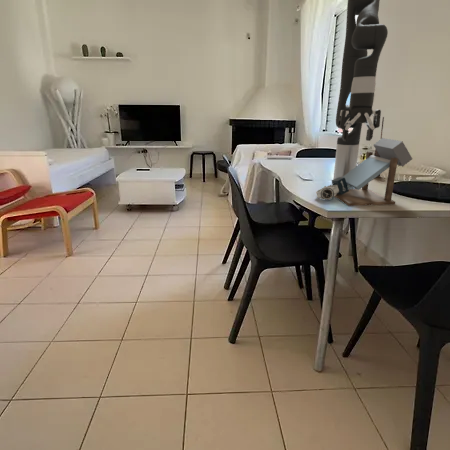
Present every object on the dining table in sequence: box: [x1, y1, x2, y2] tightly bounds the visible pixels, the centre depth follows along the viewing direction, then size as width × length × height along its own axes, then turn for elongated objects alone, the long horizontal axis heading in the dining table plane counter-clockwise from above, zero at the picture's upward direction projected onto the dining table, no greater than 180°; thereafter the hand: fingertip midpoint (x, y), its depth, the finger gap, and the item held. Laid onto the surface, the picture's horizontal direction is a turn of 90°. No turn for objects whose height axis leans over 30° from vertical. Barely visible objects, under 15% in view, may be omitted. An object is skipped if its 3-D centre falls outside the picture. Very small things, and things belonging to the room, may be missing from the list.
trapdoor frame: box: [333, 151, 398, 207], centre depth 122 cm, size 17×20×16 cm
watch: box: [315, 177, 349, 201], centre depth 124 cm, size 6×8×11 cm
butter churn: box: [373, 116, 385, 178], centre depth 157 cm, size 9×10×28 cm
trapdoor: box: [343, 137, 413, 190], centre depth 121 cm, size 21×14×8 cm
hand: (356, 140), depth 117 cm, fingers open, 8 cm apart
